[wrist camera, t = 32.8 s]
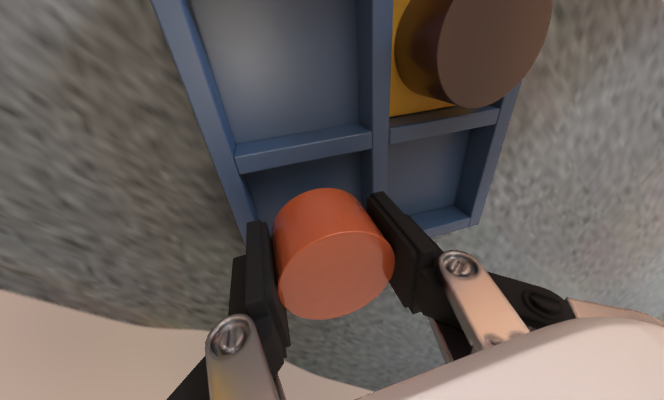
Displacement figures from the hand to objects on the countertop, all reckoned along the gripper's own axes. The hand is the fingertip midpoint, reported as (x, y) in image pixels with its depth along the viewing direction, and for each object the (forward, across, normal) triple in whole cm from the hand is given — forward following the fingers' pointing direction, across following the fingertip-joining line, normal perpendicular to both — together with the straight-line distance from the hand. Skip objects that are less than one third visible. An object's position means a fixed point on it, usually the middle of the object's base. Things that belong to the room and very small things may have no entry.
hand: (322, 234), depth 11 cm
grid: (+3, -3, -3) cm, 6 cm away
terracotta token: (0, 0, 0) cm, 0 cm away
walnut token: (+3, -7, -7) cm, 10 cm away
